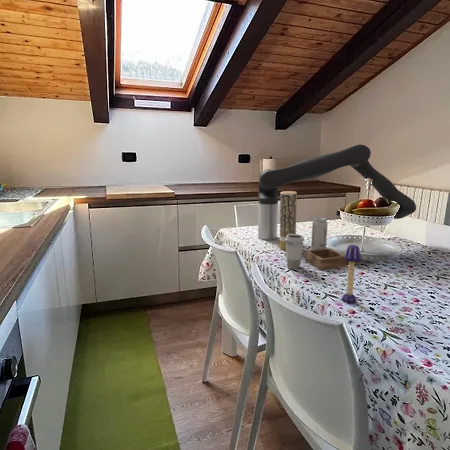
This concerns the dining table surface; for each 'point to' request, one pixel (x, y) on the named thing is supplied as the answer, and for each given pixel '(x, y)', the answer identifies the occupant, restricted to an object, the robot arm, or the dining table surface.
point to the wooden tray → (325, 259)
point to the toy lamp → (351, 271)
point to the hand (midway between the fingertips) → (343, 215)
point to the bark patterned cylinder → (287, 215)
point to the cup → (294, 250)
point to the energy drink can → (319, 233)
